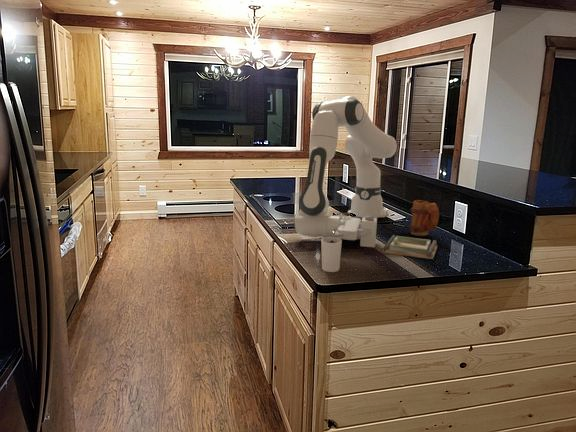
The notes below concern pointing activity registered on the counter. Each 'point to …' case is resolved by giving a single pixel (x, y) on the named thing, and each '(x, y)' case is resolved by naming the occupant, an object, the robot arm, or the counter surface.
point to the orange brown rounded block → (423, 217)
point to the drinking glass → (331, 253)
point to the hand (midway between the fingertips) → (371, 229)
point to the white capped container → (370, 240)
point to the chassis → (411, 247)
